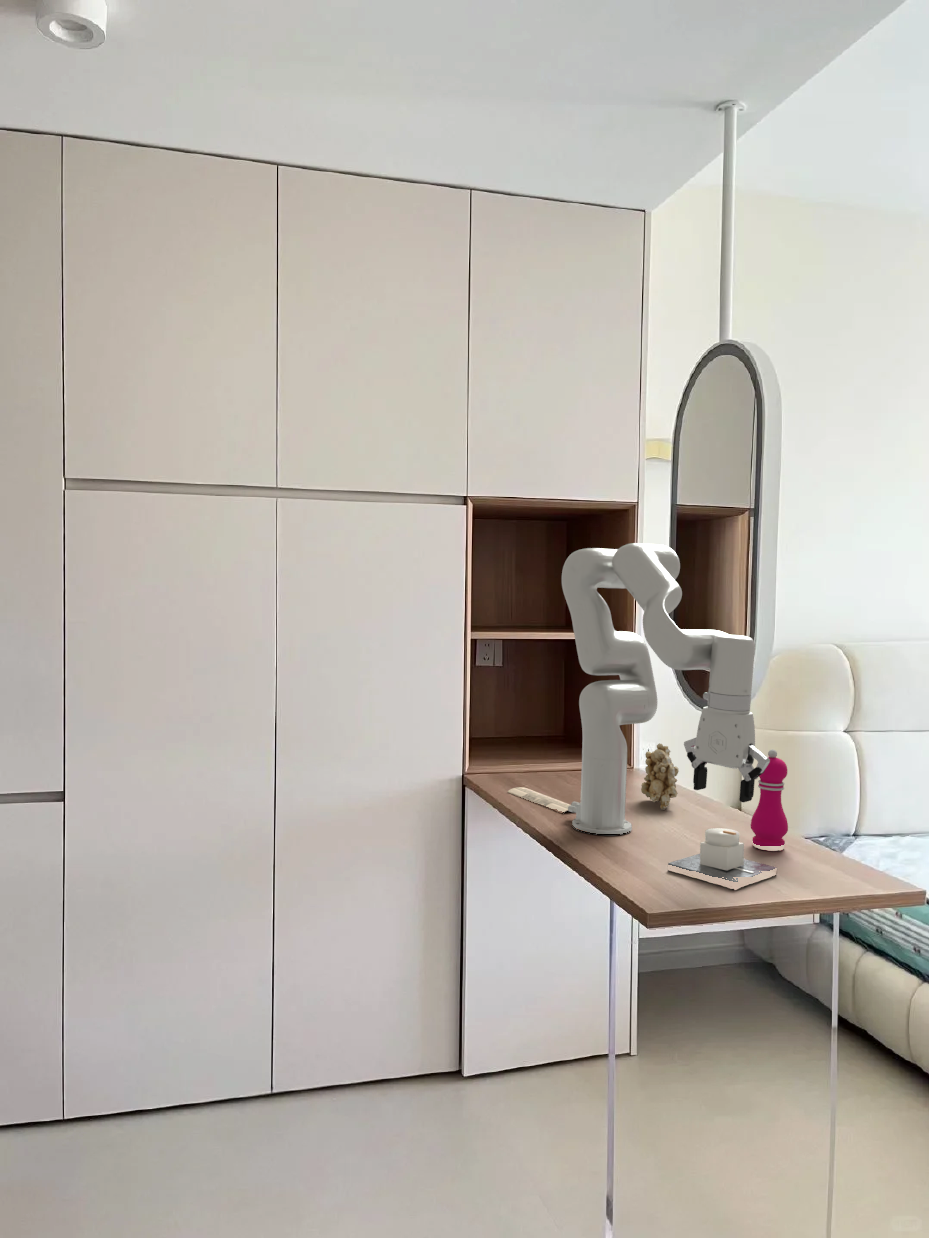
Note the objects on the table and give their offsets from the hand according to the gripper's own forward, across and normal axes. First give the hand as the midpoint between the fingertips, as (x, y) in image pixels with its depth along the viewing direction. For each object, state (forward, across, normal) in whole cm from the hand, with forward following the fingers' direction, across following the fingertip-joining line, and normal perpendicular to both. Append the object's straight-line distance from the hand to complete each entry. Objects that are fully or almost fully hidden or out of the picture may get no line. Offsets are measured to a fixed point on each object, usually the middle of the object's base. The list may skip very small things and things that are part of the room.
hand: (722, 794), depth 179 cm
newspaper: (+18, -57, +14) cm, 61 cm away
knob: (+13, +1, 0) cm, 13 cm away
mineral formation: (+16, -38, +35) cm, 54 cm away
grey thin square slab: (+14, +1, 0) cm, 14 cm away
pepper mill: (+15, -3, +23) cm, 27 cm away
